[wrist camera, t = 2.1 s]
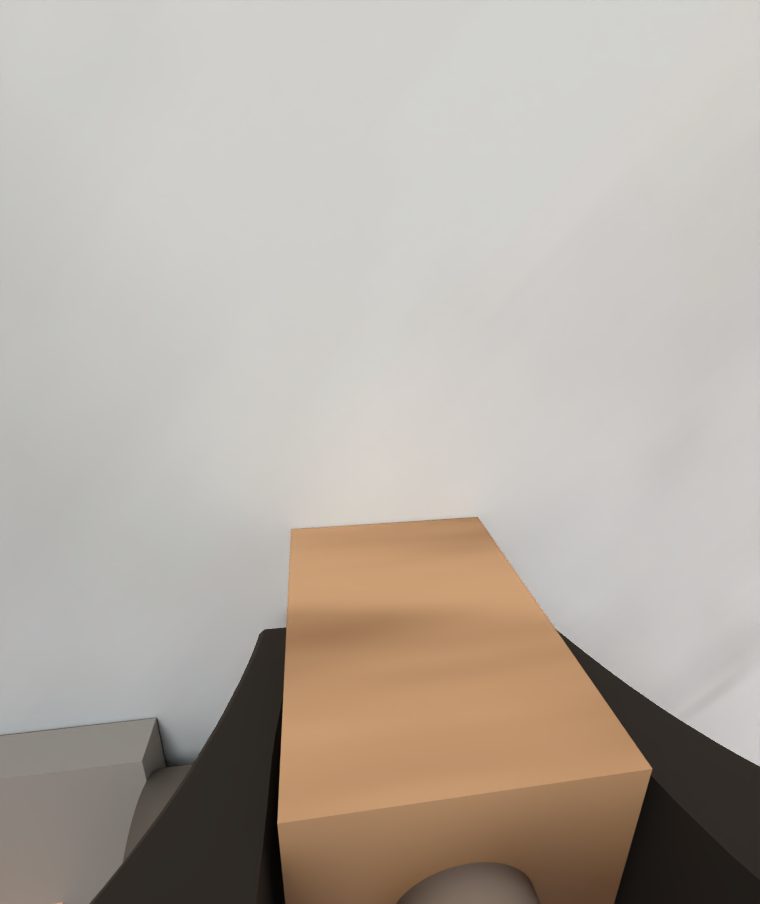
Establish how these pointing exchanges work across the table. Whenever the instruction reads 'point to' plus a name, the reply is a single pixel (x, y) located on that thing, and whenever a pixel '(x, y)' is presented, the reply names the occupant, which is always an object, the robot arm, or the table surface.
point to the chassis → (77, 807)
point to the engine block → (441, 730)
